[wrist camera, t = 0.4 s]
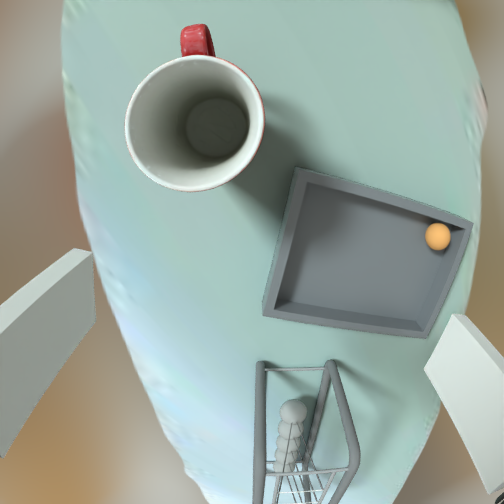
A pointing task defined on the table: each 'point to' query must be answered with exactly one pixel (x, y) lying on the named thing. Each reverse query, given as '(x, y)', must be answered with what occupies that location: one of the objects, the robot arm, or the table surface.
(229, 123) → the mug
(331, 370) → the newton's cradle
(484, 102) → the table surface
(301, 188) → the tray
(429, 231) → the ball
